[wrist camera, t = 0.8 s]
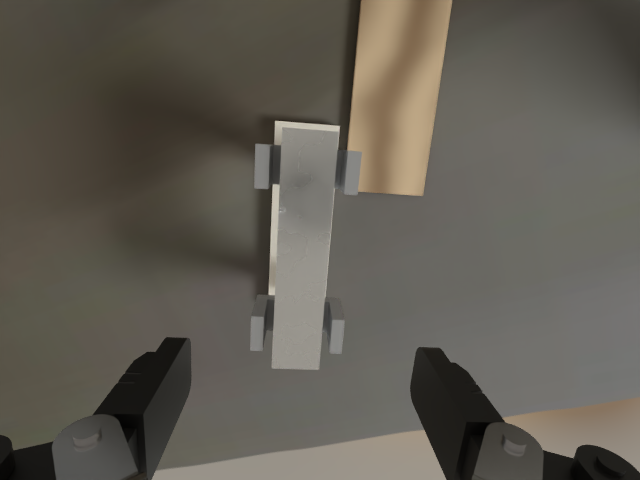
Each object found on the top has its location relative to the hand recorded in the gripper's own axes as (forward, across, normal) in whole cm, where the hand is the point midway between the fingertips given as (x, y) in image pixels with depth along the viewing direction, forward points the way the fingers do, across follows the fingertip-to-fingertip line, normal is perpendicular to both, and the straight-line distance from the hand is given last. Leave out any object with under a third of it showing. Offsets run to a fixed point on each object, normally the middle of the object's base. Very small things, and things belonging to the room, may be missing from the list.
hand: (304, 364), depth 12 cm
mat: (+24, -8, -13) cm, 29 cm away
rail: (+15, 0, 0) cm, 15 cm away
